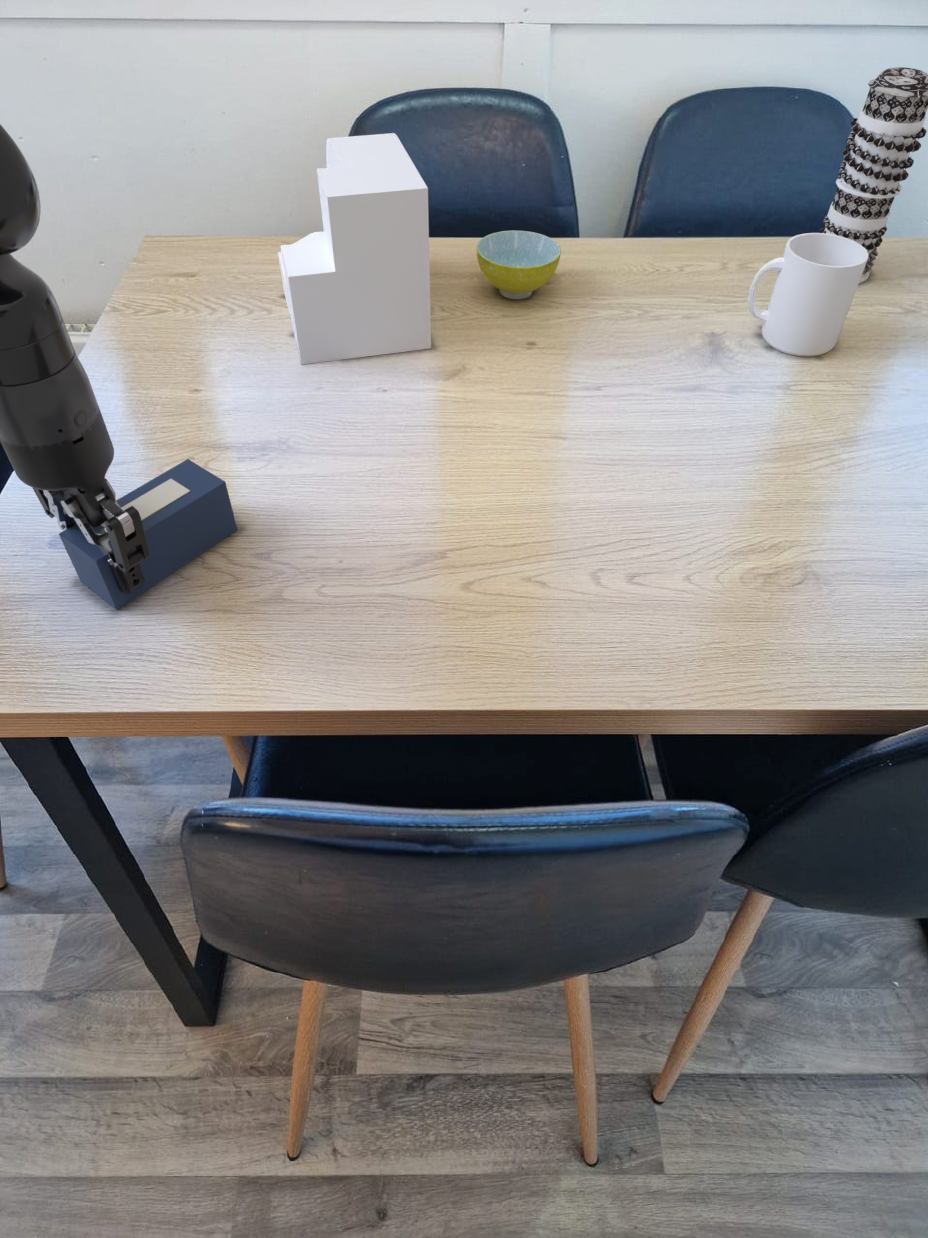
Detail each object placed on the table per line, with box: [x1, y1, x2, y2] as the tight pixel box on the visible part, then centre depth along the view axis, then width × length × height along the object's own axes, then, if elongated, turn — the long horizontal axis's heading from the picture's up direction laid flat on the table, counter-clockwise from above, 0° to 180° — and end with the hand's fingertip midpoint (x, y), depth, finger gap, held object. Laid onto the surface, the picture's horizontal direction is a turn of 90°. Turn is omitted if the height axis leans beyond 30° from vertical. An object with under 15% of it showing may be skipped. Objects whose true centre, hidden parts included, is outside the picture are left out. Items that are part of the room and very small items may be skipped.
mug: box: [747, 232, 868, 358], centre depth 104 cm, size 10×12×12 cm
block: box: [277, 132, 432, 365], centre depth 105 cm, size 25×16×19 cm, turn 15°
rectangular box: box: [58, 458, 238, 611], centre depth 77 cm, size 14×6×6 cm, turn 141°
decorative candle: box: [819, 66, 928, 284], centre depth 112 cm, size 9×9×25 cm
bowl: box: [476, 230, 562, 300], centre depth 114 cm, size 11×12×6 cm
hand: (112, 572), depth 76 cm, fingers closed on rectangular box, 5 cm apart
